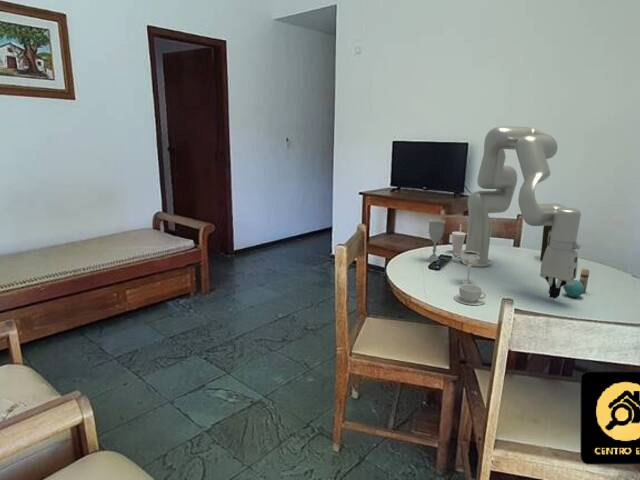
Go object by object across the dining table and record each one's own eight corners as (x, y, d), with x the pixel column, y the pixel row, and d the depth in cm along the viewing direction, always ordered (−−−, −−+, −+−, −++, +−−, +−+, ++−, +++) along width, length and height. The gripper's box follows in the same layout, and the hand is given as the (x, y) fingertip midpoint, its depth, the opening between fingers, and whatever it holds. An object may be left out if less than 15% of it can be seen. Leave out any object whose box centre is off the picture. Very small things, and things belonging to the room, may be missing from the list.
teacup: (450, 301, 144) (451, 288, 143) (458, 293, 152) (460, 280, 151) (480, 308, 139) (482, 295, 138) (488, 299, 147) (489, 286, 146)
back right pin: (579, 293, 153) (583, 270, 151) (576, 290, 155) (580, 268, 153) (586, 293, 153) (591, 271, 151) (583, 291, 155) (587, 268, 153)
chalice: (443, 260, 190) (446, 220, 185) (440, 264, 184) (444, 223, 179) (426, 257, 193) (429, 219, 188) (423, 261, 187) (426, 221, 182)
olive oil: (537, 256, 197) (545, 203, 191) (563, 259, 194) (572, 205, 187) (539, 263, 188) (548, 207, 181) (567, 266, 184) (576, 209, 178)
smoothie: (464, 255, 198) (467, 225, 194) (450, 254, 199) (453, 225, 195) (463, 251, 204) (466, 223, 200) (449, 250, 205) (451, 222, 202)
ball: (577, 291, 153) (566, 300, 151) (567, 277, 153) (557, 286, 152) (591, 289, 147) (580, 299, 146) (581, 275, 148) (570, 284, 146)
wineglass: (457, 284, 160) (461, 253, 157) (458, 278, 167) (461, 248, 164) (476, 286, 158) (480, 255, 155) (477, 280, 164) (480, 250, 161)
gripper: (591, 248, 137) (582, 301, 142) (544, 239, 148) (536, 288, 153) (582, 252, 133) (572, 306, 137) (534, 242, 144) (526, 293, 148)
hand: (553, 297), depth 145 cm, fingers closed
